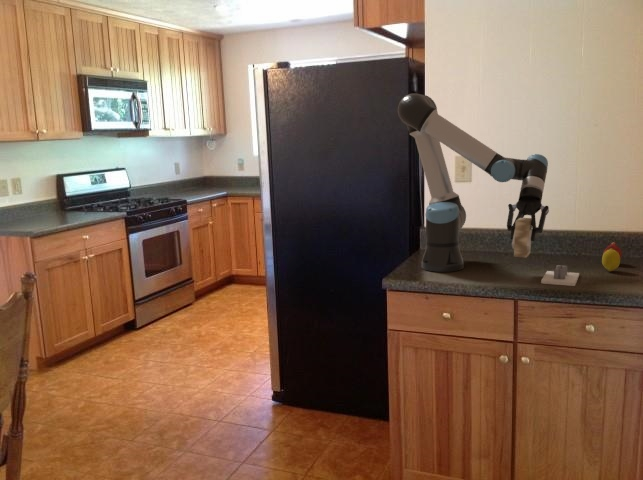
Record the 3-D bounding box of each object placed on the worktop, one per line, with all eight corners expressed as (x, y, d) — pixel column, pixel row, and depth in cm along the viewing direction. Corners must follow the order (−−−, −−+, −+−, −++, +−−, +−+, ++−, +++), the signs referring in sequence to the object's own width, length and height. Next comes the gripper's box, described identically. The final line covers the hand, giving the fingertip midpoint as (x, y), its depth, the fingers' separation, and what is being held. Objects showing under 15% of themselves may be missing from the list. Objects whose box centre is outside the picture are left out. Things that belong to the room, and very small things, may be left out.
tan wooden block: (513, 256, 197) (515, 220, 195) (518, 252, 204) (519, 217, 201) (526, 257, 195) (528, 221, 193) (530, 253, 202) (532, 218, 200)
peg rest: (541, 283, 189) (541, 271, 188) (547, 273, 201) (547, 262, 201) (574, 286, 184) (575, 273, 184) (579, 276, 197) (579, 264, 196)
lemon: (621, 273, 198) (622, 250, 196) (603, 273, 199) (604, 250, 197) (616, 269, 203) (618, 246, 202) (599, 269, 204) (600, 246, 203)
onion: (613, 266, 207) (614, 244, 206) (599, 263, 213) (600, 242, 211) (624, 264, 210) (625, 242, 209) (610, 261, 215) (611, 240, 214)
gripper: (557, 200, 205) (548, 255, 194) (507, 198, 213) (495, 251, 202) (556, 186, 200) (547, 242, 189) (505, 184, 208) (493, 238, 197)
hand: (520, 247), depth 195 cm, fingers closed on tan wooden block, 4 cm apart
